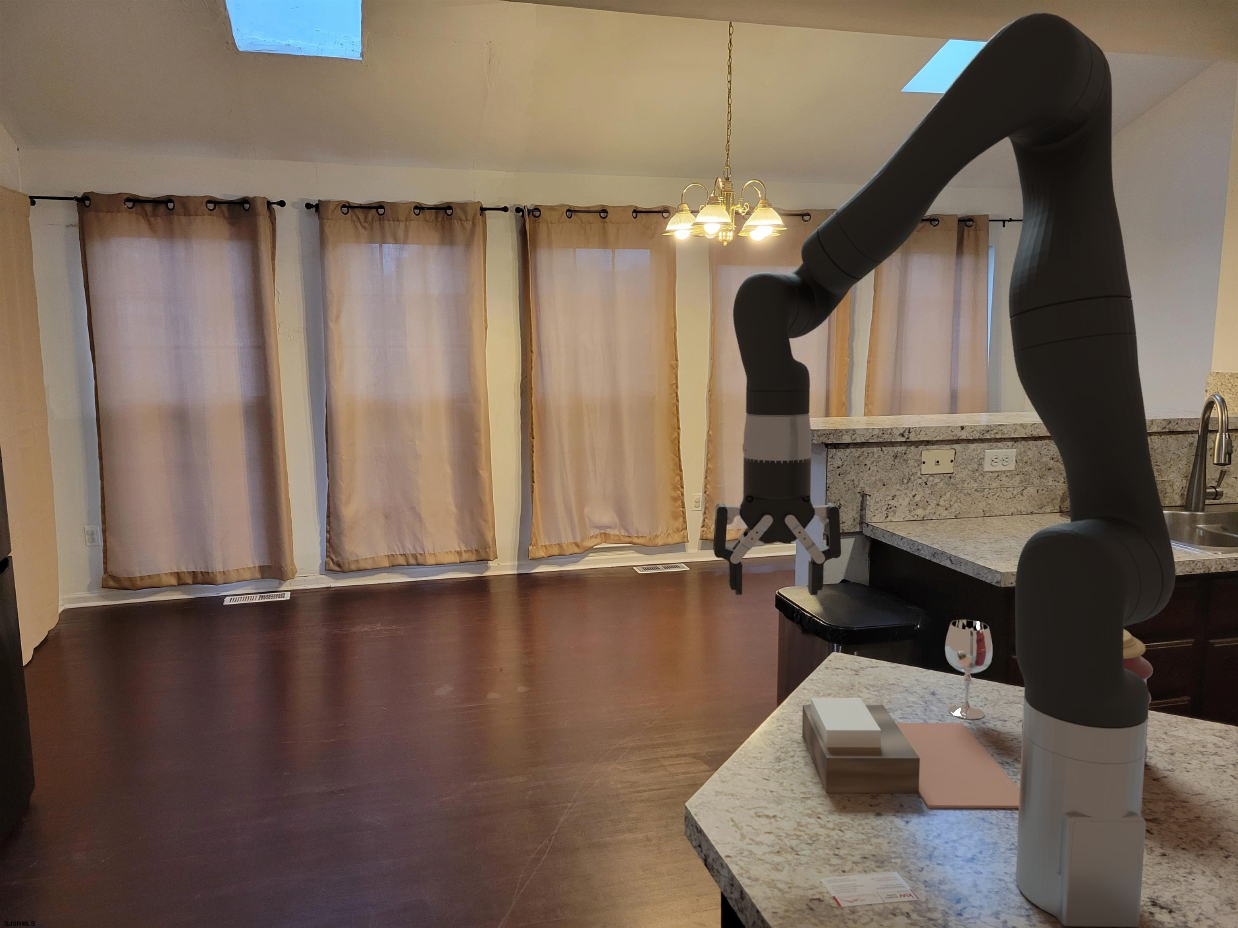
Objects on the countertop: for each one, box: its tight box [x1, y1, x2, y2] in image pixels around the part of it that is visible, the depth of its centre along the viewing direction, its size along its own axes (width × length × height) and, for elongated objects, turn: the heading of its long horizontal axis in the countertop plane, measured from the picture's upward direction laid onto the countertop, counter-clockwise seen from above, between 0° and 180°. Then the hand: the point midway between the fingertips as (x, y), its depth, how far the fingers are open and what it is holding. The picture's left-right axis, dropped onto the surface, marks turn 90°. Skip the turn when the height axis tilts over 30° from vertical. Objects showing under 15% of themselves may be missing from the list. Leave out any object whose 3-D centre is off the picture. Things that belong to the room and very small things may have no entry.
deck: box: [801, 704, 920, 794], centre depth 97 cm, size 14×10×4 cm
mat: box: [895, 722, 1020, 809], centre depth 97 cm, size 20×11×1 cm, turn 178°
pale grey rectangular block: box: [810, 697, 881, 747], centre depth 96 cm, size 9×6×2 cm, turn 178°
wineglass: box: [944, 619, 993, 720], centre depth 110 cm, size 6×6×12 cm
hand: (775, 593), depth 95 cm, fingers open, 8 cm apart
